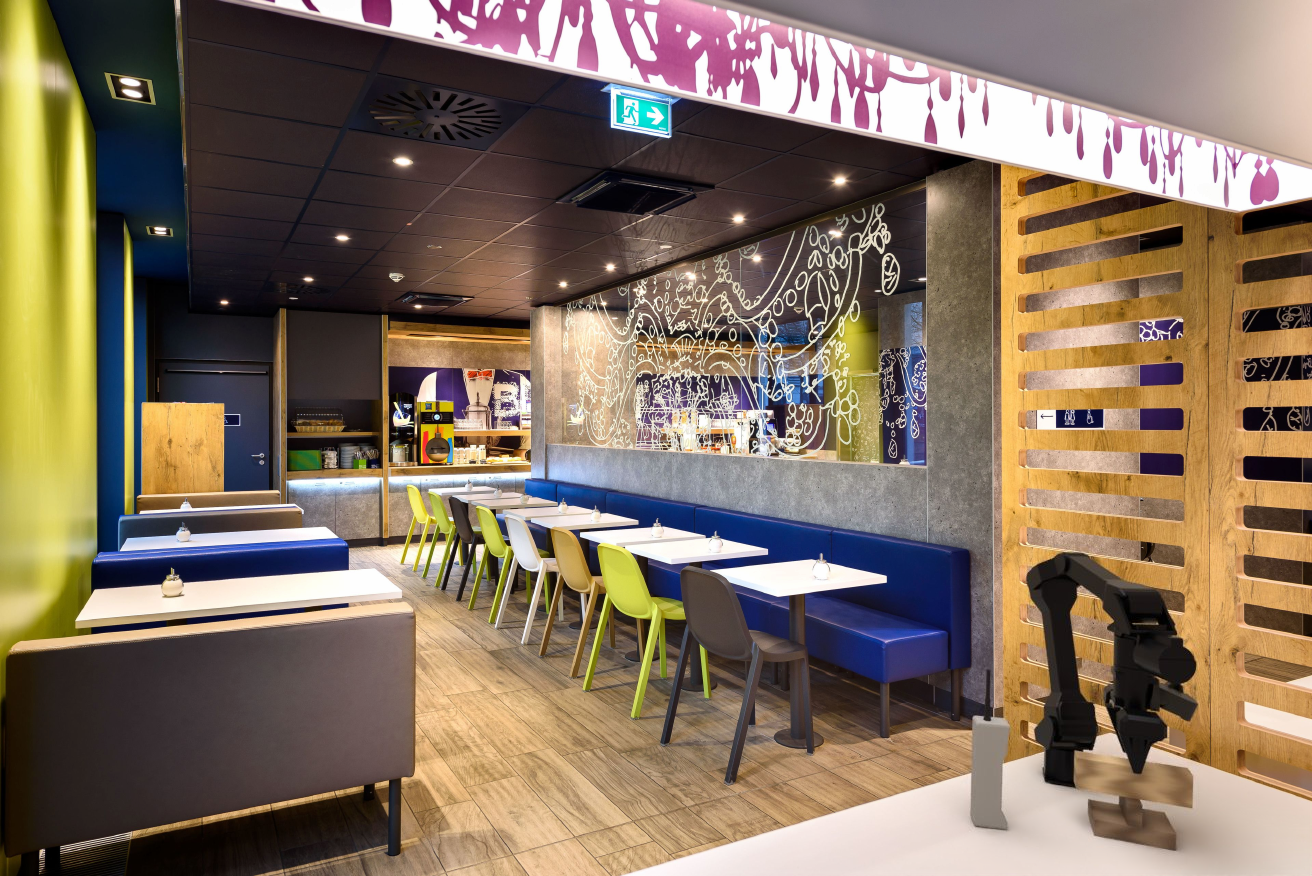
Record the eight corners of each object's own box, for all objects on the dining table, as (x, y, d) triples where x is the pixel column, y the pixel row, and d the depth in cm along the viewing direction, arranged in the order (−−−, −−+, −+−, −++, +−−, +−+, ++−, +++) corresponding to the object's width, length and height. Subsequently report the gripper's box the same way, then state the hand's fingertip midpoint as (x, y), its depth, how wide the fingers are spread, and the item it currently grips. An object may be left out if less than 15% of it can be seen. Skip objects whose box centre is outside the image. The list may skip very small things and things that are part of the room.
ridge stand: (1094, 835, 125) (1095, 797, 125) (1087, 814, 133) (1088, 778, 133) (1175, 850, 121) (1176, 811, 121) (1164, 827, 128) (1165, 790, 128)
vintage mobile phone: (1007, 830, 126) (1011, 673, 126) (974, 826, 127) (978, 671, 127) (1002, 819, 130) (1005, 667, 130) (970, 816, 131) (973, 665, 131)
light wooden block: (1076, 788, 128) (1076, 758, 128) (1073, 780, 131) (1074, 750, 132) (1192, 808, 122) (1193, 776, 122) (1187, 799, 125) (1187, 767, 125)
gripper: (1209, 688, 115) (1207, 795, 115) (1179, 658, 132) (1177, 751, 132) (1121, 678, 119) (1119, 781, 119) (1103, 650, 137) (1101, 740, 137)
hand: (1131, 762), depth 127 cm, fingers open, 9 cm apart
